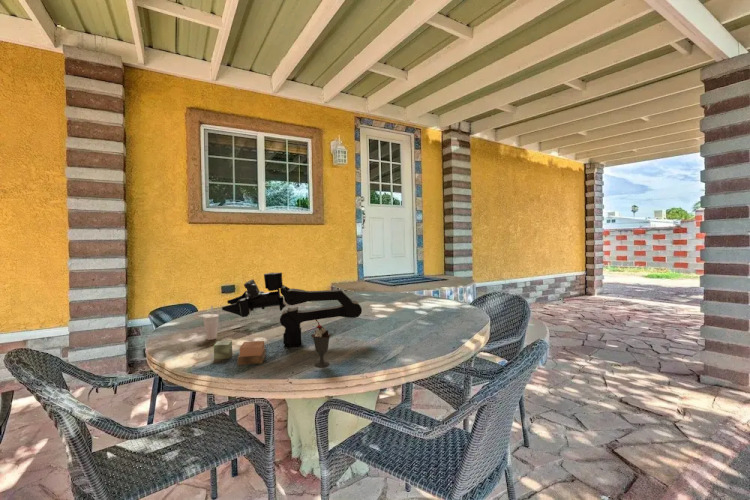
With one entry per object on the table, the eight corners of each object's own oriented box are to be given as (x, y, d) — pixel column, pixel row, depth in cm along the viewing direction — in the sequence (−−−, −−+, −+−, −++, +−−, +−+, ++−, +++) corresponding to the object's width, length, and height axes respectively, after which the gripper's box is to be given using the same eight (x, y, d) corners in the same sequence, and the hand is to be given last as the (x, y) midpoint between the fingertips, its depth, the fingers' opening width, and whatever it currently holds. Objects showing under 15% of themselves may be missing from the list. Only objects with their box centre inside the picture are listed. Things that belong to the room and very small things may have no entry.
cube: (232, 353, 135) (231, 340, 134) (229, 358, 130) (228, 344, 129) (218, 354, 134) (217, 341, 134) (214, 359, 129) (213, 345, 129)
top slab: (264, 349, 131) (264, 340, 131) (261, 355, 124) (261, 346, 124) (244, 350, 130) (244, 341, 130) (239, 356, 123) (239, 347, 123)
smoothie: (213, 340, 151) (212, 307, 150) (199, 340, 152) (198, 306, 152) (223, 336, 157) (222, 304, 157) (209, 336, 159) (208, 304, 158)
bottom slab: (265, 356, 132) (265, 348, 132) (262, 364, 124) (262, 355, 124) (242, 358, 131) (242, 349, 131) (237, 366, 123) (237, 357, 123)
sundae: (312, 361, 125) (311, 318, 124) (332, 361, 126) (331, 317, 125) (310, 368, 119) (309, 323, 118) (331, 367, 119) (330, 322, 118)
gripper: (266, 275, 151) (227, 279, 148) (261, 285, 132) (215, 290, 130) (270, 301, 152) (231, 306, 150) (265, 314, 134) (220, 320, 131)
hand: (224, 305), depth 140 cm, fingers open, 9 cm apart
